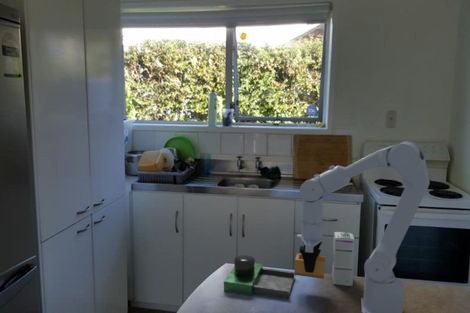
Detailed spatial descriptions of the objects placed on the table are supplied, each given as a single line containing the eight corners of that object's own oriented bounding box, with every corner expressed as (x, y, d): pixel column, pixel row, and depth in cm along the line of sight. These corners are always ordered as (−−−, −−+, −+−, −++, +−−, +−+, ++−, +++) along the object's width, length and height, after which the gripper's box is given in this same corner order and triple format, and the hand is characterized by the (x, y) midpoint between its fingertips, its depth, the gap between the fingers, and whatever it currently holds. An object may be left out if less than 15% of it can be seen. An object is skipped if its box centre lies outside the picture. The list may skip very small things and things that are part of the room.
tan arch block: (324, 271, 109) (325, 256, 109) (323, 278, 105) (324, 263, 104) (296, 267, 111) (297, 253, 111) (294, 274, 107) (295, 259, 106)
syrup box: (352, 286, 112) (355, 238, 110) (332, 284, 113) (334, 237, 111) (351, 278, 117) (353, 232, 115) (331, 276, 118) (333, 231, 116)
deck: (294, 277, 117) (295, 255, 116) (287, 301, 102) (288, 276, 102) (237, 269, 122) (238, 248, 121) (223, 291, 107) (224, 267, 106)
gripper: (300, 213, 114) (298, 256, 116) (294, 227, 100) (292, 276, 102) (324, 215, 112) (322, 259, 114) (321, 230, 98) (319, 280, 100)
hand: (310, 267), depth 108 cm, fingers closed on tan arch block, 5 cm apart
